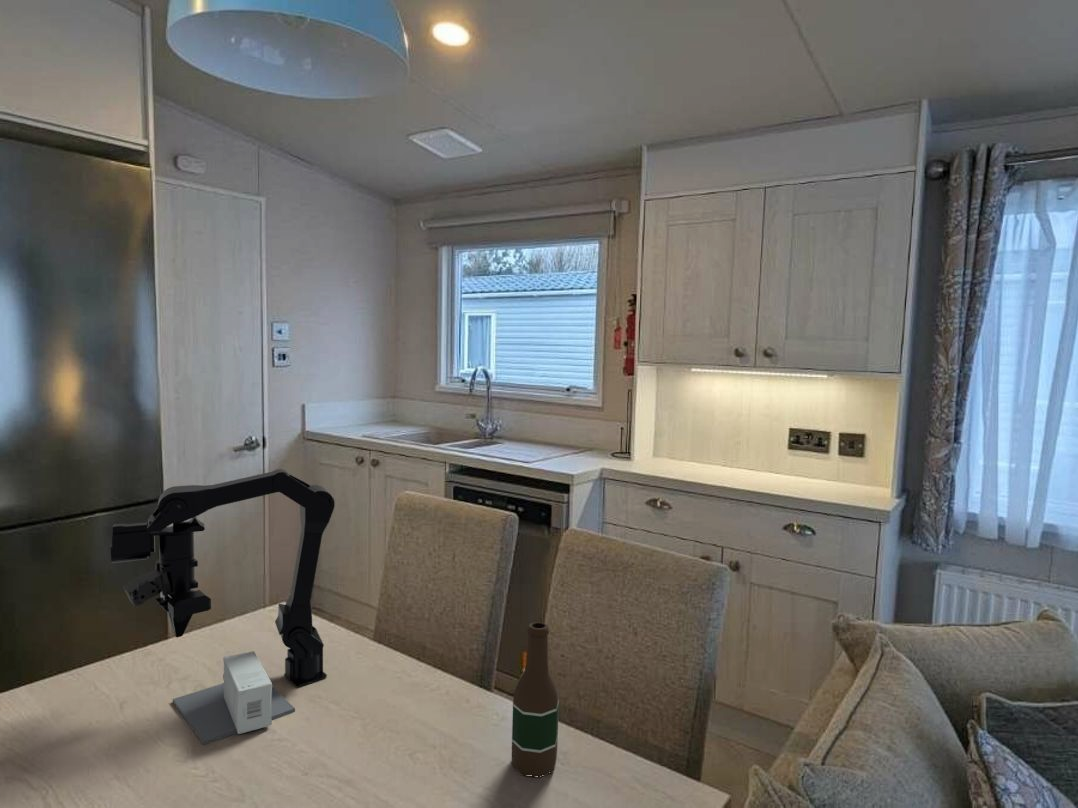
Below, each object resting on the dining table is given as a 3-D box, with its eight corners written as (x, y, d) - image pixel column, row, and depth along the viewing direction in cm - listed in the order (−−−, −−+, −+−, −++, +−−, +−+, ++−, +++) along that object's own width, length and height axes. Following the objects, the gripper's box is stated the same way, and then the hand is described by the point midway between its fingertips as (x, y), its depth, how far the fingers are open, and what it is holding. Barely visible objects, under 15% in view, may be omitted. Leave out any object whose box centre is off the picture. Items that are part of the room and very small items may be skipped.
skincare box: (272, 683, 119) (256, 647, 131) (235, 692, 116) (222, 654, 128) (272, 728, 120) (256, 688, 132) (235, 737, 117) (222, 695, 129)
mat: (257, 675, 139) (257, 672, 139) (294, 711, 126) (294, 708, 126) (172, 702, 128) (172, 699, 128) (203, 744, 115) (203, 741, 115)
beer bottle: (541, 785, 106) (546, 639, 104) (501, 768, 111) (505, 627, 108) (566, 760, 113) (570, 622, 111) (527, 744, 117) (531, 611, 115)
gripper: (115, 551, 126) (117, 631, 128) (140, 578, 113) (143, 668, 114) (179, 540, 134) (181, 616, 135) (211, 565, 120) (212, 648, 122)
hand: (178, 636), depth 126 cm, fingers closed
